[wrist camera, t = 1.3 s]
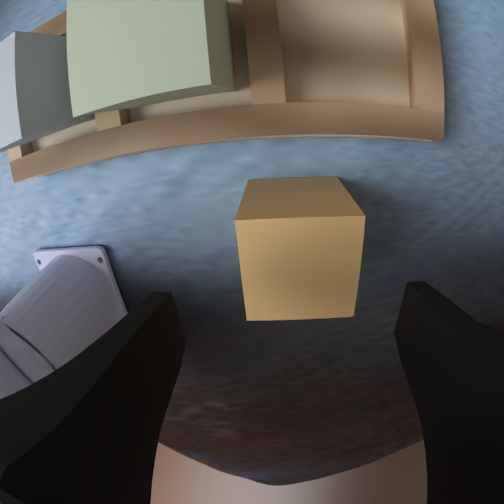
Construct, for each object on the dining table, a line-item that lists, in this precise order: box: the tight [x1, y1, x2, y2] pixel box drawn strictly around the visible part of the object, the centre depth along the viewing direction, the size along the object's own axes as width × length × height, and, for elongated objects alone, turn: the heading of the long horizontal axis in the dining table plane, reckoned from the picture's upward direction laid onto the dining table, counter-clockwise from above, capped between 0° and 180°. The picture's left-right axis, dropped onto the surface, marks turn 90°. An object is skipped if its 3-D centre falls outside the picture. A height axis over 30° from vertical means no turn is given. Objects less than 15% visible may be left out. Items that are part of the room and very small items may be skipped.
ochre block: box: [235, 177, 365, 321], centre depth 15 cm, size 5×5×6 cm
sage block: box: [67, 0, 237, 117], centre depth 9 cm, size 5×5×6 cm
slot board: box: [7, 0, 444, 183], centre depth 12 cm, size 10×26×3 cm, turn 95°
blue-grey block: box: [0, 31, 95, 153], centre depth 10 cm, size 5×5×6 cm
